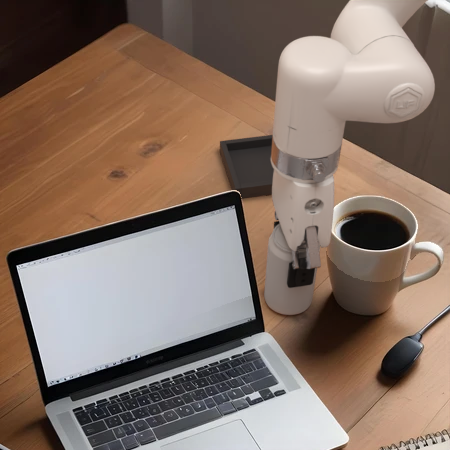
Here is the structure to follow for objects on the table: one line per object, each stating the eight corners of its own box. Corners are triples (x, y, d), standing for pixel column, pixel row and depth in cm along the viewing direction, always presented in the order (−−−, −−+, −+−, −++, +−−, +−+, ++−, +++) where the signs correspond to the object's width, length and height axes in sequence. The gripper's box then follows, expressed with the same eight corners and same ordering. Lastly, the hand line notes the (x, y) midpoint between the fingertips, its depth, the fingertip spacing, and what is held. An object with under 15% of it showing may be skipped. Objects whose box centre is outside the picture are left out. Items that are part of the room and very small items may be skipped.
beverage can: (288, 326, 108) (296, 262, 98) (253, 298, 110) (258, 233, 101) (321, 301, 110) (332, 236, 101) (287, 274, 113) (294, 209, 104)
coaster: (288, 143, 131) (289, 132, 129) (307, 190, 124) (309, 179, 123) (219, 151, 129) (219, 140, 128) (235, 199, 123) (235, 188, 121)
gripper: (363, 199, 86) (340, 311, 100) (316, 99, 97) (302, 213, 111) (293, 208, 85) (280, 320, 99) (253, 107, 96) (247, 221, 110)
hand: (292, 263), depth 105 cm, fingers closed on beverage can, 6 cm apart
